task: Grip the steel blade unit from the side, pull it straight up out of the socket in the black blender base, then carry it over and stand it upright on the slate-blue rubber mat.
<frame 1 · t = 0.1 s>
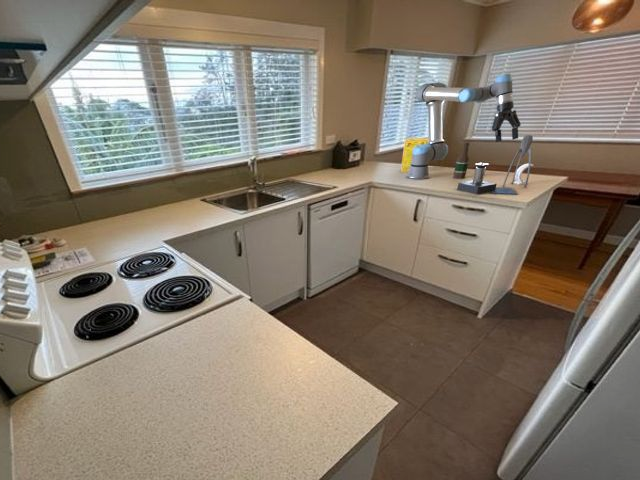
hand: (507, 140, 177), 28 cm above the worktop, tool tilted 20°, fingers open, 13 cm apart
blade unit: (478, 176, 181), in the blender base
mat: (501, 191, 179), on the worktop
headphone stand: (519, 183, 191), on the worktop
blender base: (475, 190, 185), on the worktop
citrus juicer: (510, 186, 187), on the worktop
beer bottle: (458, 177, 217), on the worktop
packaging box: (413, 170, 251), on the worktop
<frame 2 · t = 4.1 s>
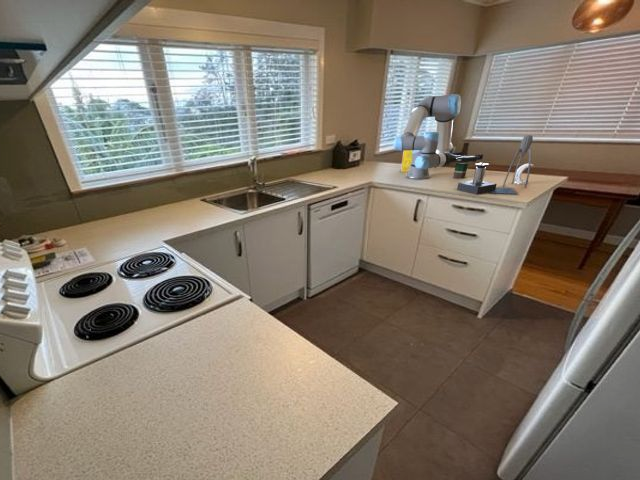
hand: (471, 155, 173), 22 cm above the worktop, tool horizontal, fingers open, 13 cm apart
nothing on the worktop moved.
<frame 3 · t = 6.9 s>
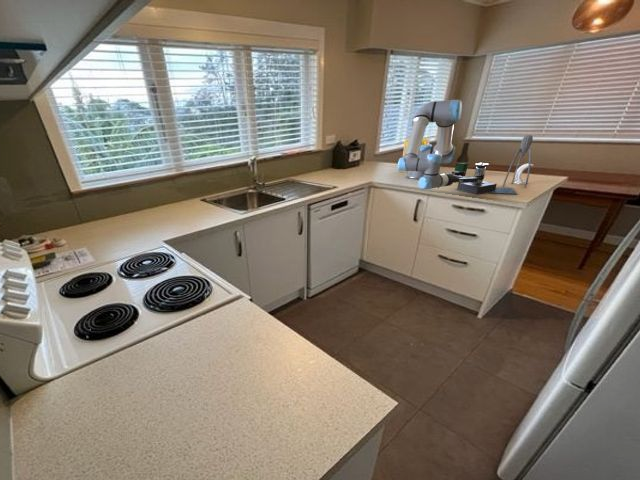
hand: (472, 175, 180), 10 cm above the worktop, tool horizontal, fingers open, 13 cm apart
nothing on the worktop moved.
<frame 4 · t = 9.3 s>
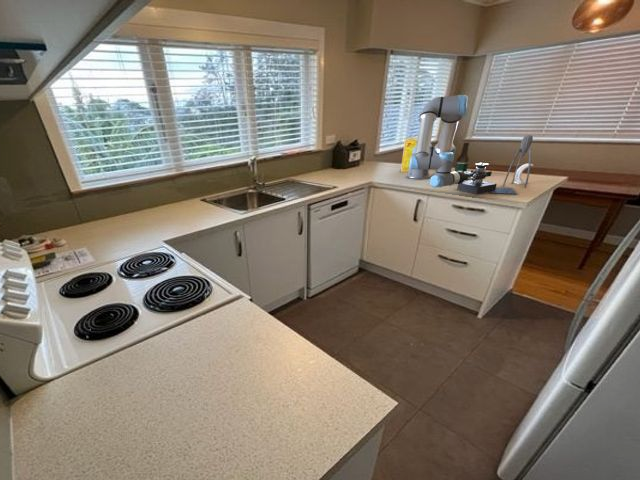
hand: (486, 173, 182), 10 cm above the worktop, tool horizontal, fingers closed on blade unit, 5 cm apart
blade unit: (478, 176, 181), in the blender base, touching gripper
everything else where it was.
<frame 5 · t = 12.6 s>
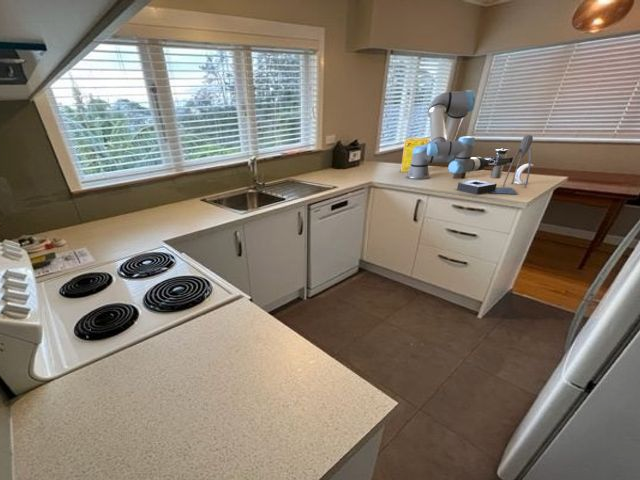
hand: (507, 159, 174), 18 cm above the worktop, tool horizontal, fingers closed on blade unit, 5 cm apart
blade unit: (499, 163, 174), point 16 cm above the worktop, touching gripper
everything else where it was.
when the fingers open (11 cm above the worktop, at t = 15.7 s): blade unit stays where it is, resting on mat.
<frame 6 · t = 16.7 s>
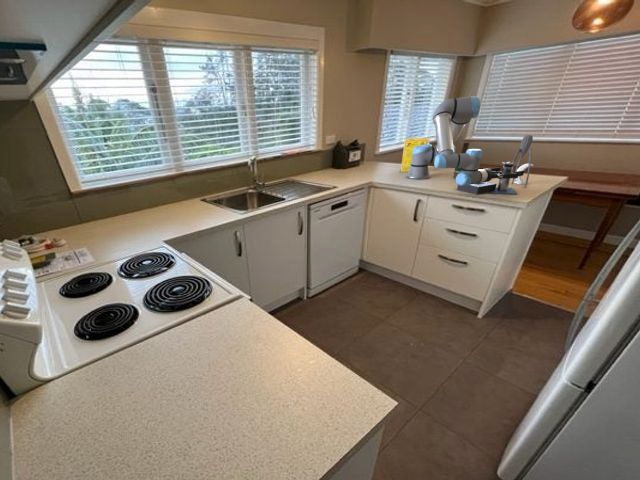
hand: (510, 171, 175), 11 cm above the worktop, tool horizontal, fingers open, 13 cm apart
blade unit: (505, 176, 175), on the mat, point 9 cm above the worktop
everything else where it was.
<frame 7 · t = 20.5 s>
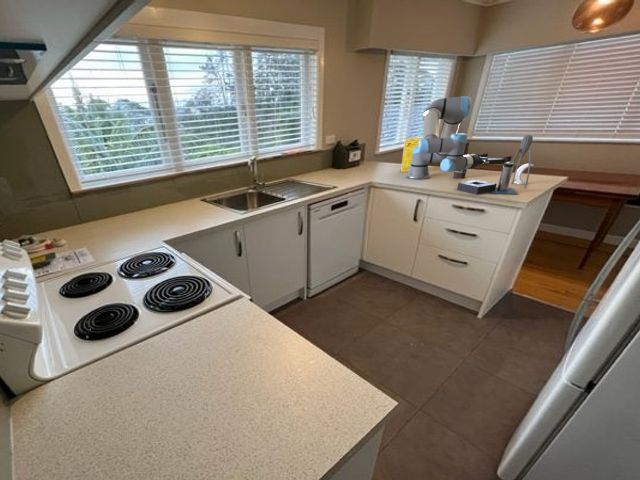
hand: (498, 157, 168), 21 cm above the worktop, tool horizontal, fingers open, 13 cm apart
nothing on the worktop moved.
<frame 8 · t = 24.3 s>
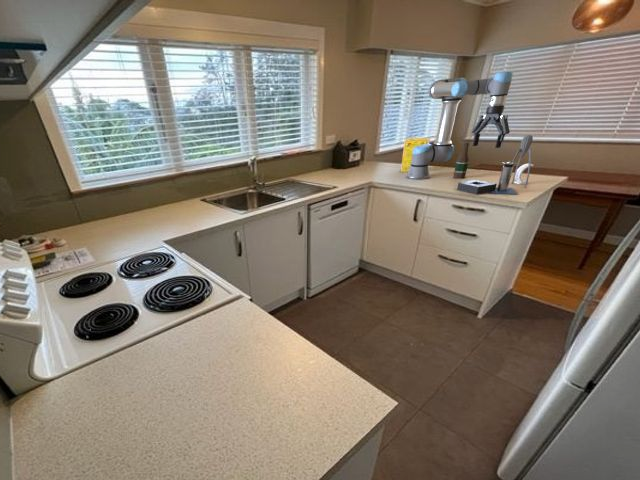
hand: (485, 146, 169), 27 cm above the worktop, tool pointing down, fingers open, 13 cm apart
nothing on the worktop moved.
at the end: blade unit inside the target area on the mat (0.1 cm from its centre), point 9.0 cm above the mat's base; blade unit tilted 0°; blade unit touching mat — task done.
